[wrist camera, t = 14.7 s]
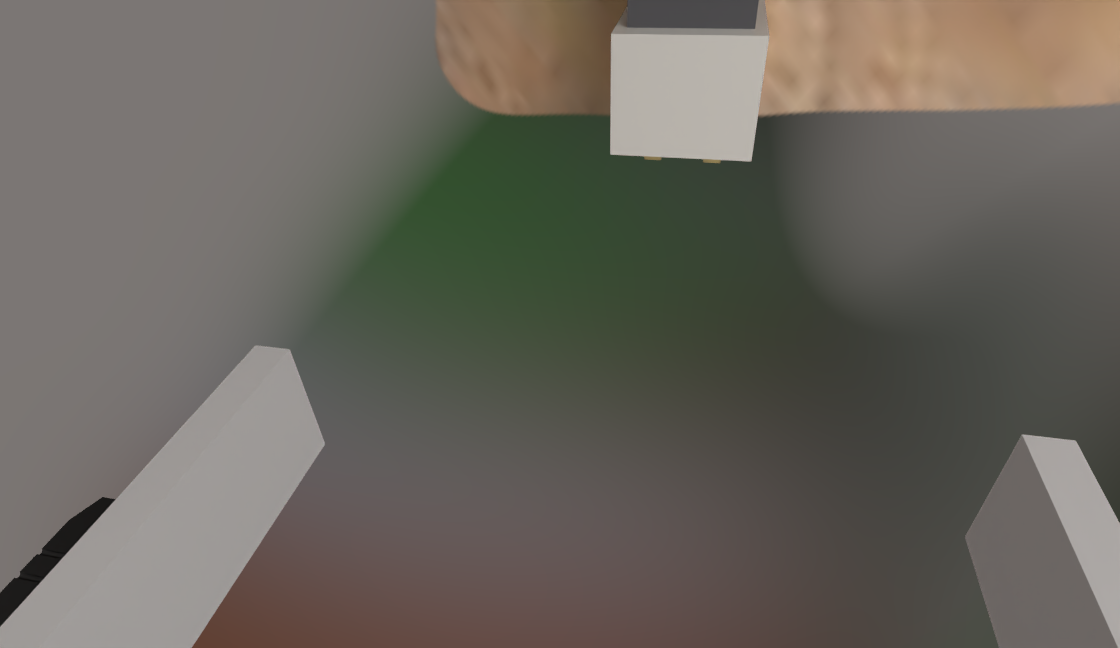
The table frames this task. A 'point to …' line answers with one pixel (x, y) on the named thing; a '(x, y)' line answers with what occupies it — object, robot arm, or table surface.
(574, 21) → the table surface
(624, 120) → the plug
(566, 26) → the table surface
